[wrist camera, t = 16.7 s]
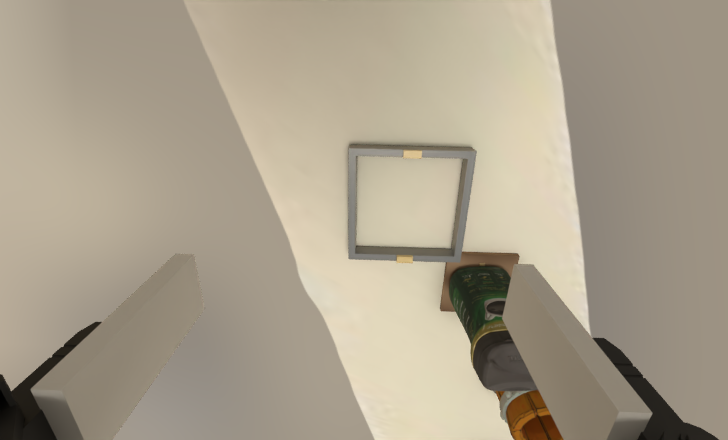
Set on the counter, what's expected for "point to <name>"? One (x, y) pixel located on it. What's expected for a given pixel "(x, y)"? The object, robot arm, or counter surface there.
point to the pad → (472, 260)
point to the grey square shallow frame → (461, 211)
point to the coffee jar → (489, 327)
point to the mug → (527, 415)
